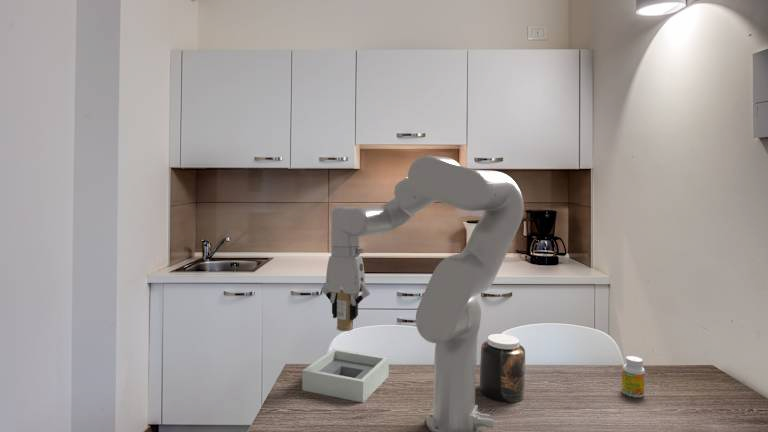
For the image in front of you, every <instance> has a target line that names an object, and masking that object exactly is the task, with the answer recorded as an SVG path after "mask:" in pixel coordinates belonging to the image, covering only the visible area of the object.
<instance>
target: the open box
mask: <svg viewBox="0 0 768 432" xmlns="http://www.w3.org/2000/svg"><path fill="white" fill-rule="evenodd" d="M389 364H390V357H387V356H381V355H374V354H367V353H362V352H361V353H360V352H355V351H349V350H343V349H337V348H333V349H331V350H330V351H328V352H327V353H326V354H324V355H323V356H321V357H320V358H318V359H317V360H315V361H314V362H313V363H311V364H310V365H308V366H307V367H306V368H304V369H302V371H301V372H302V373H301V375H302V380H301V382H302V383H301V384H302V385H301V387H302V389H301V390H302V391H303V392H308V393H314V394H319V395H323V396H329V397H333V398H338V399H342V400H343V399H344V400H346V401H347V400H349V401H353V402H358V403H365V402H366V401H367V399H368V398H369V397H370V396H371V395H372V394H373V393H374V392H375V391H376V390H377V389H378V388H379V387H380V386H381V385H382V384H383V382H384V381H386V380H387V378H389V372H390V371H389V369H390V368H389V366H390V365H389Z"/></svg>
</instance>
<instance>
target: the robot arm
mask: <svg viewBox="0 0 768 432" xmlns="http://www.w3.org/2000/svg"><path fill="white" fill-rule="evenodd" d="M393 193H394V198H392V199H391V200H389V201H388V202H386V203H384V204H382V205H380V206H377V205H376V206H364V207H363V206H362V207H355V206H336V207H333V209H331V219H330V220H331V221H330V222H331V224H330V225H331V235H330V236H331V237H330V238H331V246H330V247H331V248H330V249H331V252H330V253H331V254H330V256H328V257H329V258H328V262H327V266H326V278H325V283H324V284H323V285H322V287H321V289H320V291H321V292H322V294H324V295H325V296H326V297H327V298H328V300H329V301H330V304H331V314H332V318H333V319H337V293H340V290H341V289H339V288H340V286H342V287H343V292H344V293H345V294H350V298H351V303H352V305H351V306H350V320H352V321H354V320H356V318H357V317H358V316H359V304H360V303H361V302H362V301H363V300H364V299H365V298H367V297H368V296H369V295H370V294H371V293H370V291H369V289H368V288H367V286H366V277H365V267H364V266H365V265H364V262H363V257H362V256H360V255H363V254H364V253H365V252H364V250H365V249H364V248H361V246H360V237H369V236H375V235H383V234H387V233H389V232H392V231H394V230H396V229H397V228H399V227H401V226H404V225H405V224H406V223H408V222H409V221H410V220H412V219H413V217H414V216H416V213H418V212H420V211H422V210H423V209H425V208H427V207H428V206H430V205H432V204H434V203H436V202H439V203H442V204H444V205H448V206H451V207H454V208H456V209H458V210H459V209H460V210H463V211H467V212H477V211H478V212H479V211H483V215H482V216H481V217H480V219H479V220H478V222H477V223H476V225H475V226H474V227H473V230H472V231H471V233H470V237H469V239H468V241H467V242H466V245H465V246H464V249H463V250H462V251H461V252H459V253H457V254H453V255H449V256H447V257H445V258H444V259H443V260H441V261H440V262H439V263H438V265H437V266H436V267H435V269H434V270H433V271H432V272H433V273H432V274H431V277H430V279H429V281H428V283H427V286H426V288H425V290H424V292H423V295H422V297H421V299H420V302H419V304H418V307H417V309H416V315H415V326H416V329H417V332H418V333H419V335H420V336H421V337H422V338H423V339H424V340H425V341H427V342H428V343H432V344H435V347H434V363H433V364H434V367H433V369H434V370H433V406H432V407H433V410H432V411H431V412H429V413H428V415H427V416H426V421H425V423H426V426H427V428H428V429H429V431H431V432H481V430H482V427H485V428H489V429H494V425H495V420H494V419H493V418H491V414H488V413H481V412H480V411H479V405H478V404H476V384H477V383H476V380H477V377H476V375H477V353H478V350H477V349H478V340H479V333H480V328H481V322H482V309H481V305H480V302H479V301H478V299H477V297H475V296H478V295H480V294H482V293H485V292H486V291H488V290H489V289H490V288H491V287H492V285H493V283H494V281H495V279H496V277H497V275H498V273H499V271H500V268H501V266H502V264H503V262H504V260H505V258H506V256H507V254H508V251H509V249H510V247H511V245H512V243H513V241H514V239H515V236H516V234H517V232H518V230H519V228H520V226H521V223H522V220H523V217H524V209H525V203H524V197H523V194H522V192H521V190H520V187H519V186H518V183H516V182H515V180H514V179H513V178H512V177H511V176H509V175H508V174H506V173H504V172H501V171H498V170H492V169H473V168H468V167H465V166H461V165H460V163H459V162H458V161H456V160H455V159H453V158H450V157H447V156H437V155H423V156H420V157H418V158H417V159H415V160H414V161H413V162H412V164H411V165H410V166H409V169H408V171H407V177H405V178H403V179H402V180H400V181H399V182H397V183H396V185H395V186H394V190H393ZM360 293H361V294H360ZM359 294H360V295H359Z"/></svg>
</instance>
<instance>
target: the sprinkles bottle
mask: <svg viewBox="0 0 768 432" xmlns="http://www.w3.org/2000/svg"><path fill="white" fill-rule="evenodd" d="M339 289H341V290H340V293H337V317H336V322H337V323H336V324H337V325H336V330H337V331H340V332H349V331H352V330H353V329H354V326H353V321H354V320H350V306H351V305H352V303H351V298H350V294H345V293H344V292H343V287H342V286H340V288H339Z"/></svg>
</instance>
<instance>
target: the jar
mask: <svg viewBox="0 0 768 432" xmlns="http://www.w3.org/2000/svg"><path fill="white" fill-rule="evenodd" d="M479 364H480V369H479V391H480V394H481V395H482V396H483V397H485V398H486V397H487V399H488V398H489V399H488V400H491V401H495V402H497V401H498V402H497V403H503V402H507V403H508V402H514V403H518V402H521V401H522V400H523V399H524V398H523V397H525V384H526V382H525V381H526V380H525V379H526V350H525V347H524V346H522V345H521V344H520V339H519V338H517V336H513V335H510V334H505V333H493V334H489V335H487V340H486V341H484V342H483V343H482V344H481V348H480V363H479ZM521 399H522V400H521ZM520 400H521V401H520ZM517 401H518V402H517ZM507 403H506V404H507ZM508 404H509V403H508Z"/></svg>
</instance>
